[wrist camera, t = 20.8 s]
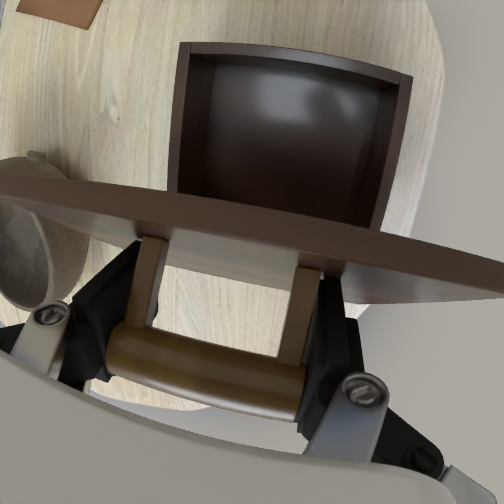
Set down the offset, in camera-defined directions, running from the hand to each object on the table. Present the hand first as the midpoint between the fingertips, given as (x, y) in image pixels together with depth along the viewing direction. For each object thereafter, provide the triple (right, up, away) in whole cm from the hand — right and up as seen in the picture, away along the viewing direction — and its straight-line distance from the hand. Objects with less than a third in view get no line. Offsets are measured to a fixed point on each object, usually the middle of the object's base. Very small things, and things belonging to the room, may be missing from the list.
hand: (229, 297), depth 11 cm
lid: (+1, +1, +5) cm, 5 cm away
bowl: (-24, +6, +24) cm, 34 cm away
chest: (+4, +10, +16) cm, 19 cm away
